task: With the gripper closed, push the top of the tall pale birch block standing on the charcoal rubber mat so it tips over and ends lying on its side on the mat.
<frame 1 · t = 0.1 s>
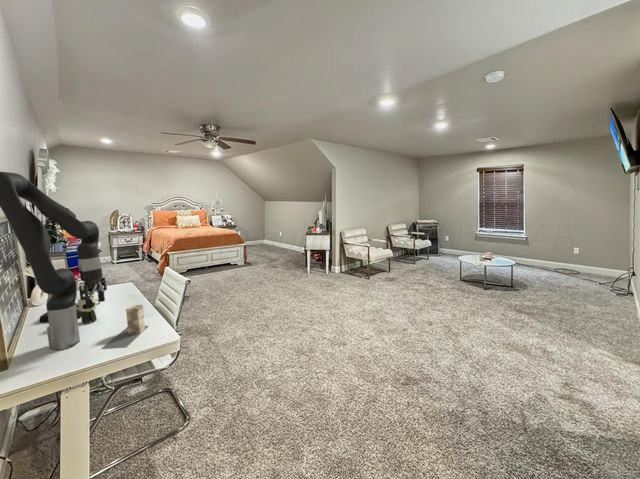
hand: (96, 304, 128), 17 cm above the table, tool pointing down, fingers open, 8 cm apart
birch block: (136, 331, 139), point 1 cm above the table, touching rubber mat
character mug: (89, 322, 153), on the table
portable cd player: (67, 316, 163), on the table
rubber mat: (127, 338, 134), on the table
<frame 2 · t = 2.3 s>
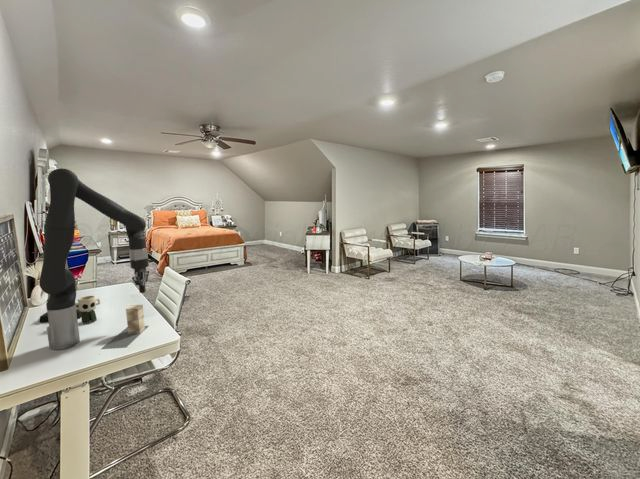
hand: (142, 292, 146), 17 cm above the table, tool pointing down, fingers closed
nothing on the table moved.
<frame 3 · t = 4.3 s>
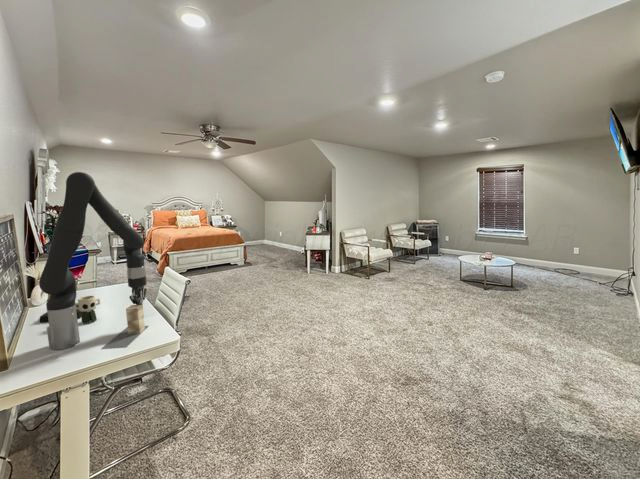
hand: (139, 310, 143), 9 cm above the table, tool pointing down, fingers closed
birch block: (136, 331, 139), point 1 cm above the table, touching gripper, rubber mat
everything else where it was.
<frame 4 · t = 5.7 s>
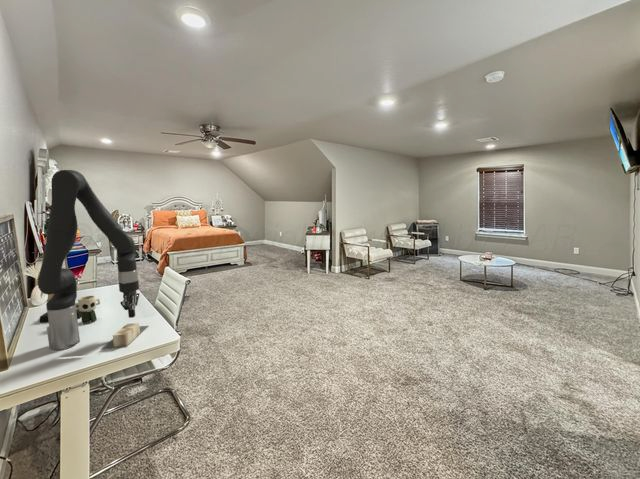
hand: (132, 317, 136), 9 cm above the table, tool pointing down, fingers closed
birch block: (133, 328, 136), point 3 cm above the table, tilted 90°, touching rubber mat
everything else where it was.
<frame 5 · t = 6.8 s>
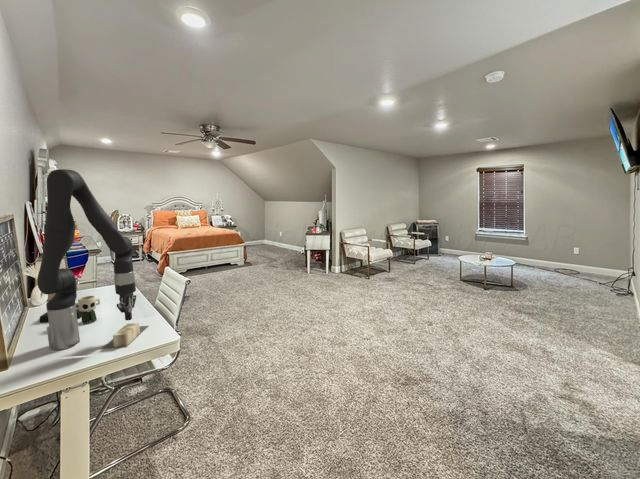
hand: (128, 319, 132), 9 cm above the table, tool pointing down, fingers closed
nothing on the table moved.
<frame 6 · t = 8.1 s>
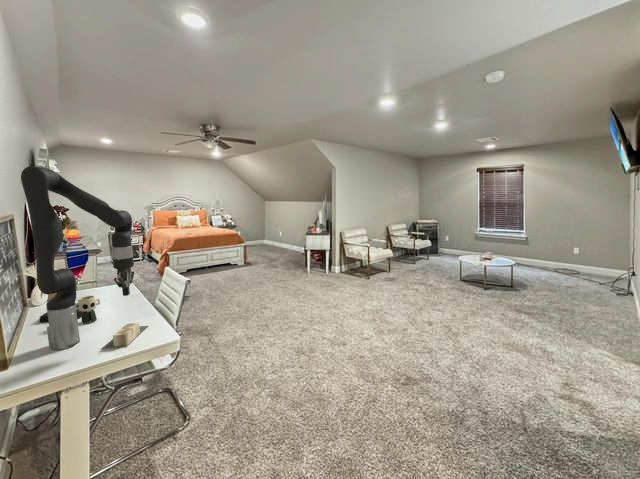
hand: (126, 295, 131), 20 cm above the table, tool pointing down, fingers closed
nothing on the table moved.
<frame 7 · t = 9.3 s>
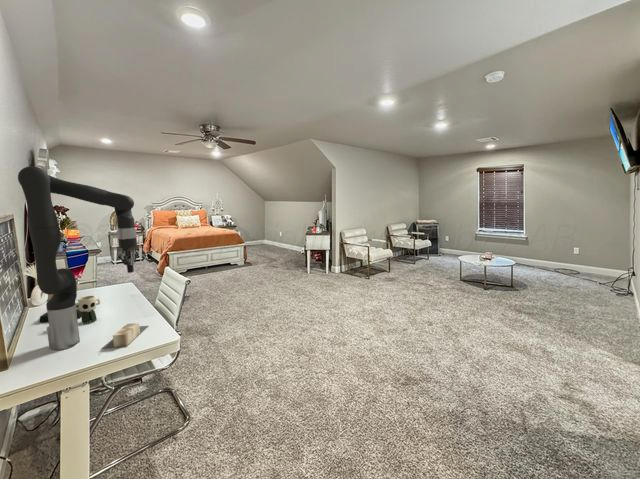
hand: (130, 272, 145), 27 cm above the table, tool pointing down, fingers closed
nothing on the table moved.
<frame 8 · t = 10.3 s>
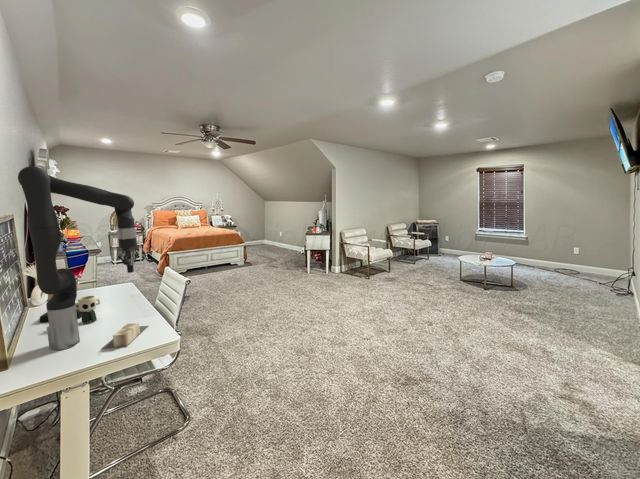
hand: (130, 272, 145), 27 cm above the table, tool pointing down, fingers closed
nothing on the table moved.
at the end: birch block tilted 90°; birch block inside the target area (0.5 cm from its centre), point 3.3 cm above the table; birch block touching rubber mat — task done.
